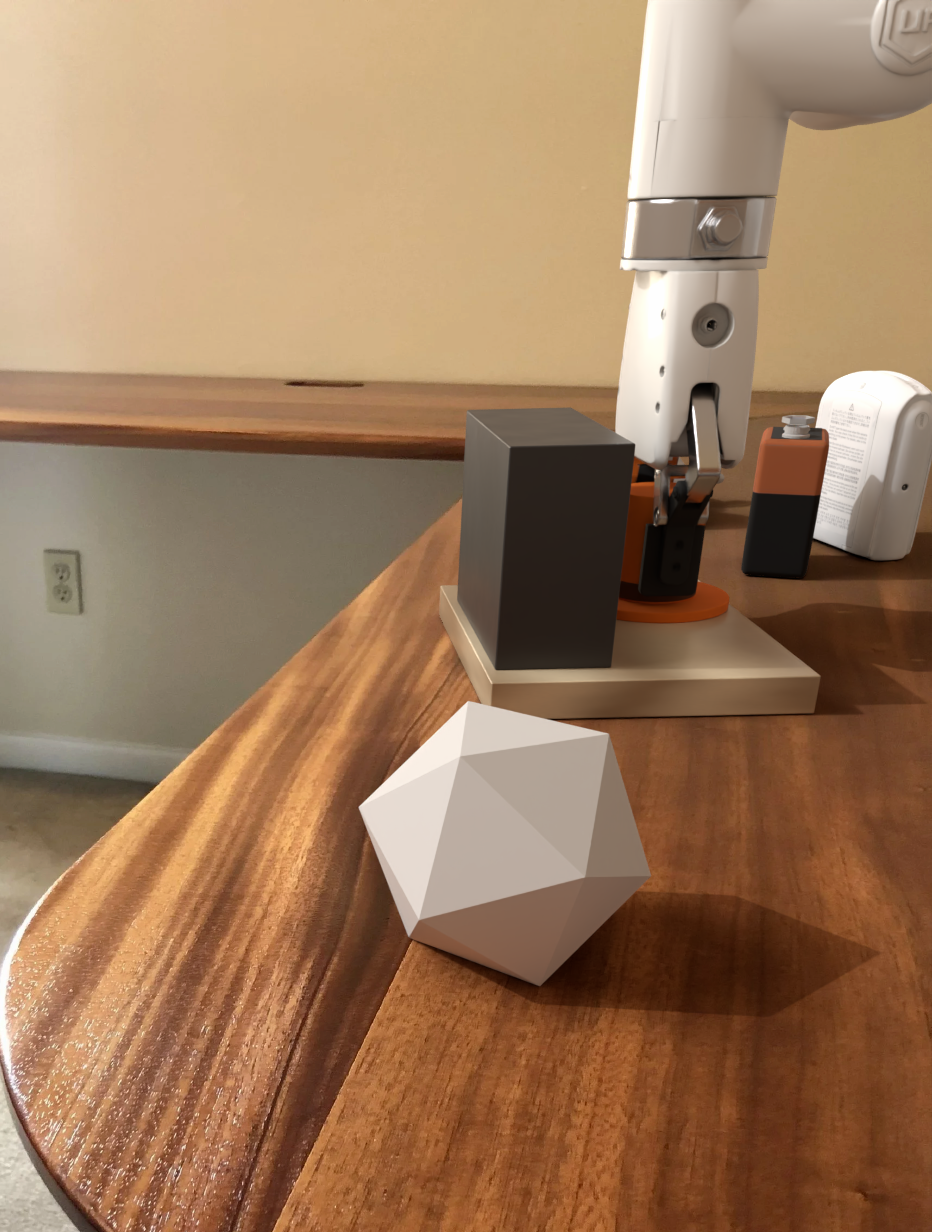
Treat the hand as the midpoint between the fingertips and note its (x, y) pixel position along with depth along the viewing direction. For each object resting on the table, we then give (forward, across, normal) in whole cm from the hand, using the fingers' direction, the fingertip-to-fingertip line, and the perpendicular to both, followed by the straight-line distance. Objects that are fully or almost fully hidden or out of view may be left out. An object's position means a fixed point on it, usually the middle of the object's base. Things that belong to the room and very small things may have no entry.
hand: (652, 578), depth 77 cm
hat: (+1, 0, 0) cm, 1 cm away
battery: (+4, +16, -14) cm, 22 cm away
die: (+4, -38, +15) cm, 41 cm away
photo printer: (+4, +22, -22) cm, 31 cm away
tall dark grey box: (+2, -5, +8) cm, 10 cm away
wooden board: (+3, -4, +4) cm, 7 cm away
